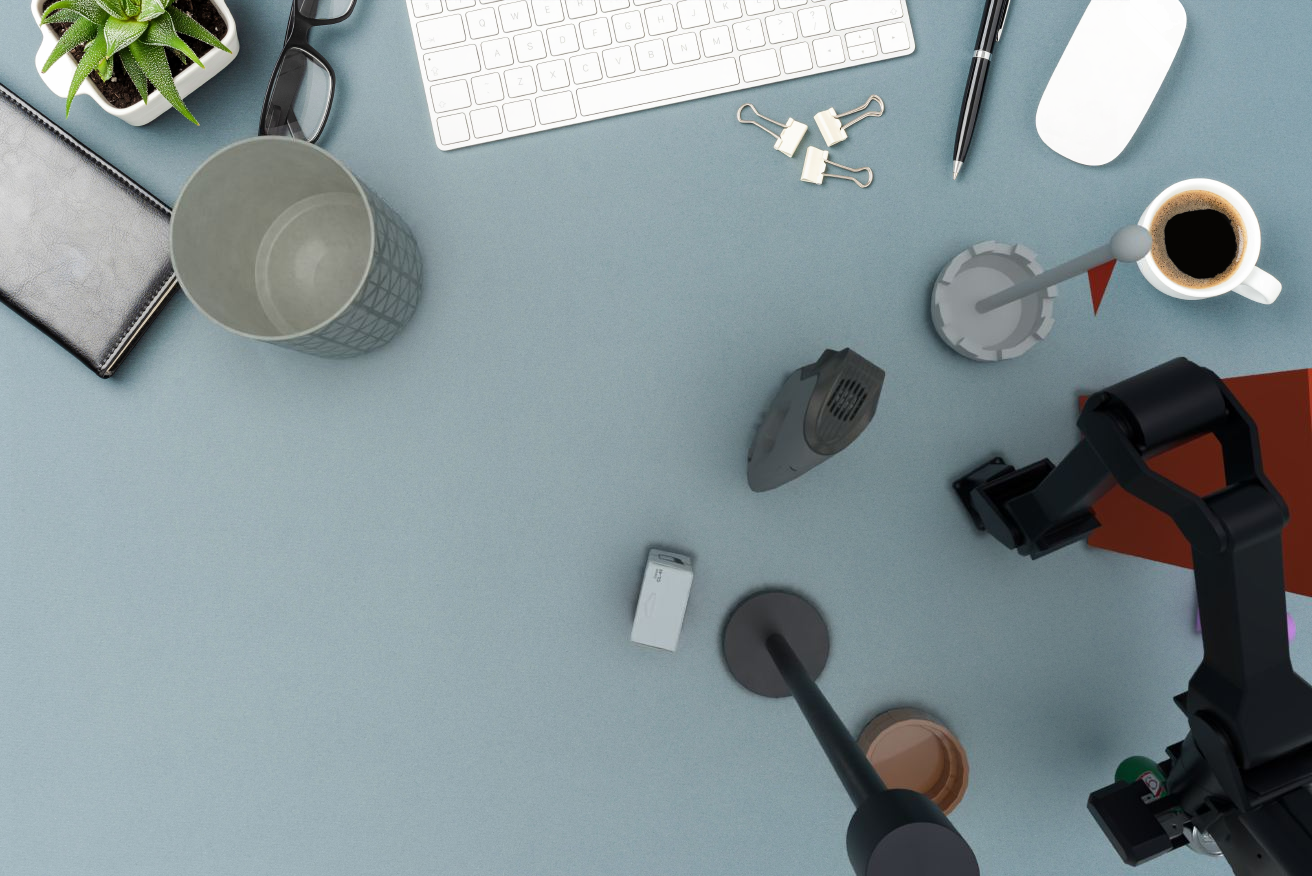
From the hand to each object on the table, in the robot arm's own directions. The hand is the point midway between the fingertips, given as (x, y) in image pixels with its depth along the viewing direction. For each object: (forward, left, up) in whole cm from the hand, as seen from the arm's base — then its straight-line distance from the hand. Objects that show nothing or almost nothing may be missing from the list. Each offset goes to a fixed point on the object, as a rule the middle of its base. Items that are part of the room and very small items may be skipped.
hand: (1181, 818), depth 76 cm
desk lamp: (-32, -26, -13) cm, 43 cm away
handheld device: (-52, -12, -13) cm, 55 cm away
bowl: (-13, -20, -13) cm, 27 cm away
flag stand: (-53, +14, -13) cm, 56 cm away
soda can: (-1, 0, -7) cm, 7 cm away
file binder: (-29, +18, -13) cm, 37 cm away
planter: (-93, -47, -13) cm, 105 cm away
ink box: (-44, -34, -13) cm, 57 cm away
